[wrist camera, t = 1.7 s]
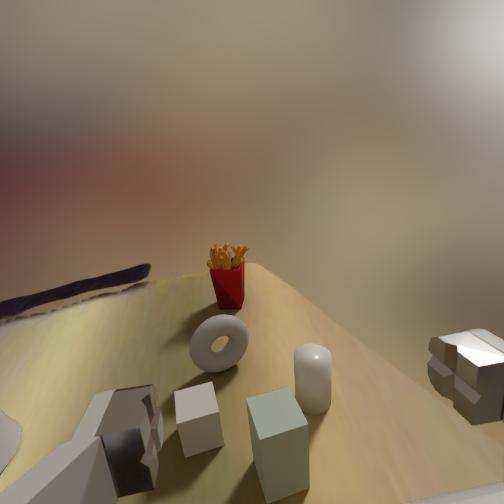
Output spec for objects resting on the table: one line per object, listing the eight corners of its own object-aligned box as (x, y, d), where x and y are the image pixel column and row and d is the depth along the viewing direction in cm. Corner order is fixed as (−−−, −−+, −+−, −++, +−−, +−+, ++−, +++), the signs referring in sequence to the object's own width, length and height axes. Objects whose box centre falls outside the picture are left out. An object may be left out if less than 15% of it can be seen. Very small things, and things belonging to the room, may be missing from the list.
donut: (245, 350, 56) (240, 302, 52) (254, 362, 53) (249, 312, 49) (191, 372, 52) (181, 322, 48) (198, 386, 49) (188, 334, 45)
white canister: (304, 419, 42) (303, 374, 39) (290, 391, 47) (288, 348, 44) (337, 408, 43) (339, 363, 40) (320, 382, 48) (320, 340, 45)
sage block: (266, 504, 33) (259, 439, 29) (253, 459, 38) (246, 398, 34) (309, 488, 34) (308, 423, 30) (292, 446, 39) (289, 386, 35)
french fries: (221, 295, 74) (212, 236, 69) (255, 295, 73) (249, 235, 67) (212, 316, 66) (201, 252, 61) (250, 317, 65) (243, 251, 59)
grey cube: (184, 458, 39) (176, 424, 36) (182, 423, 43) (174, 391, 41) (224, 445, 40) (218, 411, 37) (217, 413, 44) (212, 381, 42)
